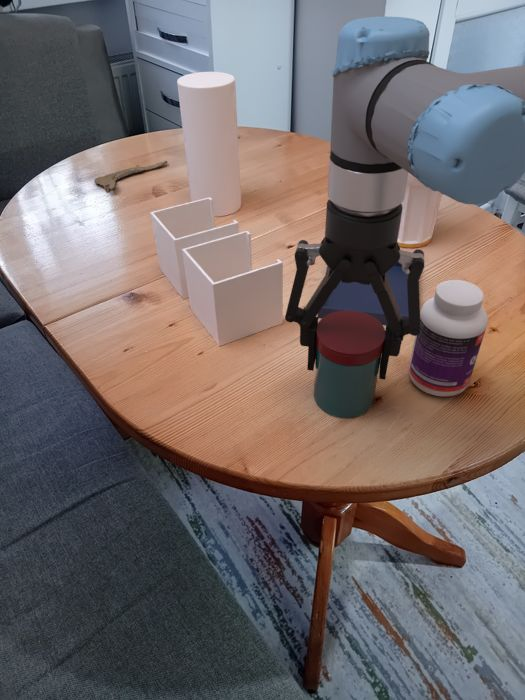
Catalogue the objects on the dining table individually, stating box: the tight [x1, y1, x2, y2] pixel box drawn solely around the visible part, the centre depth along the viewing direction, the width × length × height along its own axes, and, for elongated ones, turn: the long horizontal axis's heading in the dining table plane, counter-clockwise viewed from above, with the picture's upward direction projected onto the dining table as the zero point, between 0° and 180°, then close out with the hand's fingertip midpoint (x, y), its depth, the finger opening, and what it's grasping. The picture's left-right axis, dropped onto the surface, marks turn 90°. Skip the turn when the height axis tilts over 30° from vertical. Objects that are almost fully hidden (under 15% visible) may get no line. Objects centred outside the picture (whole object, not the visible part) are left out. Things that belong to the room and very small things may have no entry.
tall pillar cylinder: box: [176, 71, 242, 218], centre depth 107 cm, size 11×11×25 cm
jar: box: [313, 347, 382, 419], centre depth 68 cm, size 8×8×11 cm
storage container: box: [149, 197, 284, 347], centre depth 87 cm, size 25×11×11 cm, turn 29°
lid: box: [315, 311, 386, 366], centre depth 65 cm, size 8×8×2 cm
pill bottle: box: [408, 279, 489, 397], centre depth 69 cm, size 8×8×14 cm
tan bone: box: [93, 160, 169, 193], centre depth 128 cm, size 9×20×2 cm, turn 149°
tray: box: [317, 262, 409, 326], centre depth 89 cm, size 17×15×2 cm
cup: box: [397, 173, 443, 249], centre depth 98 cm, size 11×11×17 cm
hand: (346, 367), depth 68 cm, fingers closed on lid, 8 cm apart
